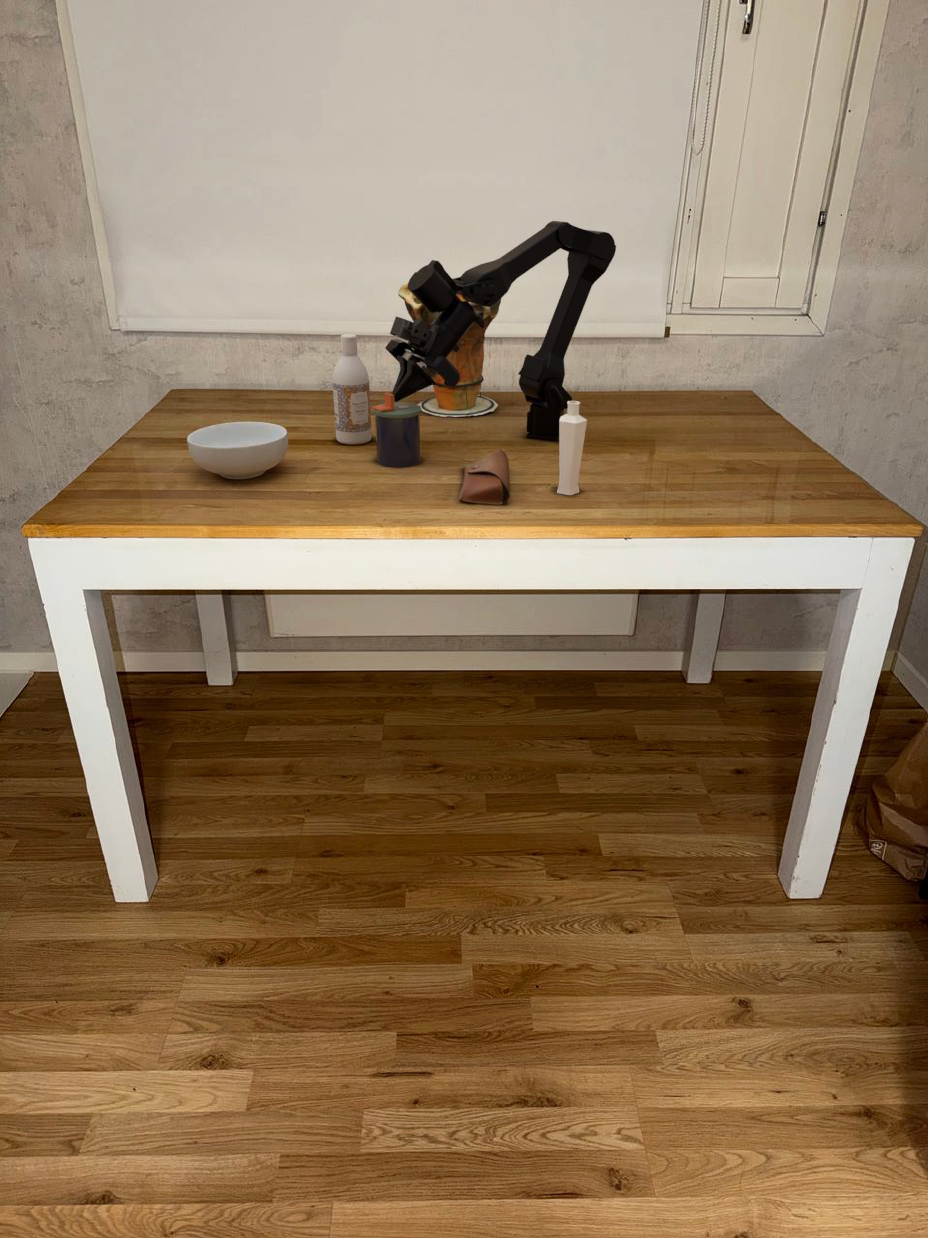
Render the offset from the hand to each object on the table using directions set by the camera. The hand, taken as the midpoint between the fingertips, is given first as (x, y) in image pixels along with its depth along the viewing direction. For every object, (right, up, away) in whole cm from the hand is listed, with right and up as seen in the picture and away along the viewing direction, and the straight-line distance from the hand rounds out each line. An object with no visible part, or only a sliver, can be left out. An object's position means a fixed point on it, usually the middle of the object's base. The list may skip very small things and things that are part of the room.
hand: (392, 400), depth 153 cm
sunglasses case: (+16, -16, -6) cm, 24 cm away
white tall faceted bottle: (+30, -18, -8) cm, 36 cm away
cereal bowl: (-27, -13, -1) cm, 30 cm away
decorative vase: (+11, +8, +39) cm, 41 cm away
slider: (-2, -2, -1) cm, 3 cm away
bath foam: (-9, -4, +17) cm, 19 cm away
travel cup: (+1, -10, +6) cm, 11 cm away
